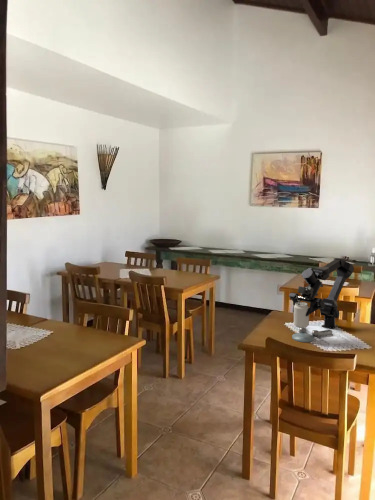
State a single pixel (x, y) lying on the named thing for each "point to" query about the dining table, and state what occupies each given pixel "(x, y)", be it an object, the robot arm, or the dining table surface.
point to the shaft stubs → (317, 332)
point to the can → (301, 315)
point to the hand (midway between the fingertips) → (299, 314)
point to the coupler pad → (303, 337)
